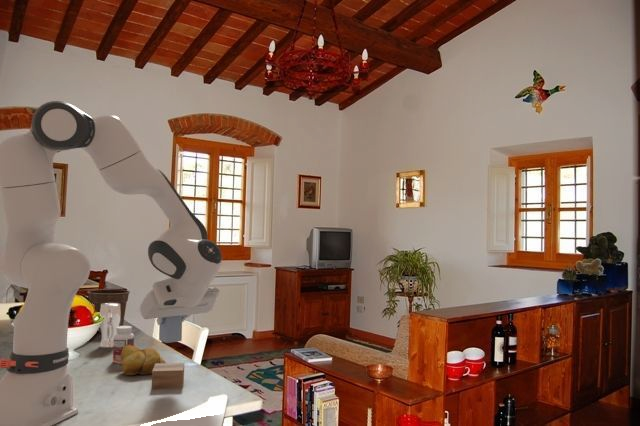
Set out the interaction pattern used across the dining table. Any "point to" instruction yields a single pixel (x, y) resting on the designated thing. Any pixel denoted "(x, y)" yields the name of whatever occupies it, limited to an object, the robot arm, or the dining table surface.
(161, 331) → the slate block
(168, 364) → the walnut block
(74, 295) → the robot arm
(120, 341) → the pill bottle
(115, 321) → the beer glass
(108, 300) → the plant pot
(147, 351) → the bread roll
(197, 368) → the dining table surface
